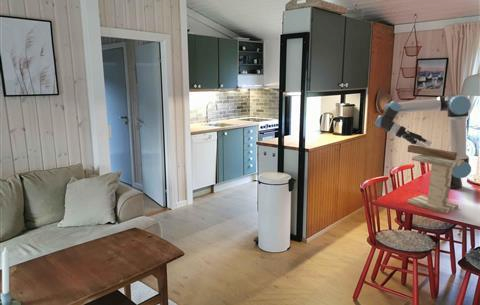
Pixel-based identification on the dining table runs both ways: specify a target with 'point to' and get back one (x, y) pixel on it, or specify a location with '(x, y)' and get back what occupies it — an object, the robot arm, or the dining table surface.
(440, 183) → the shelf stand
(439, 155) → the brown block
